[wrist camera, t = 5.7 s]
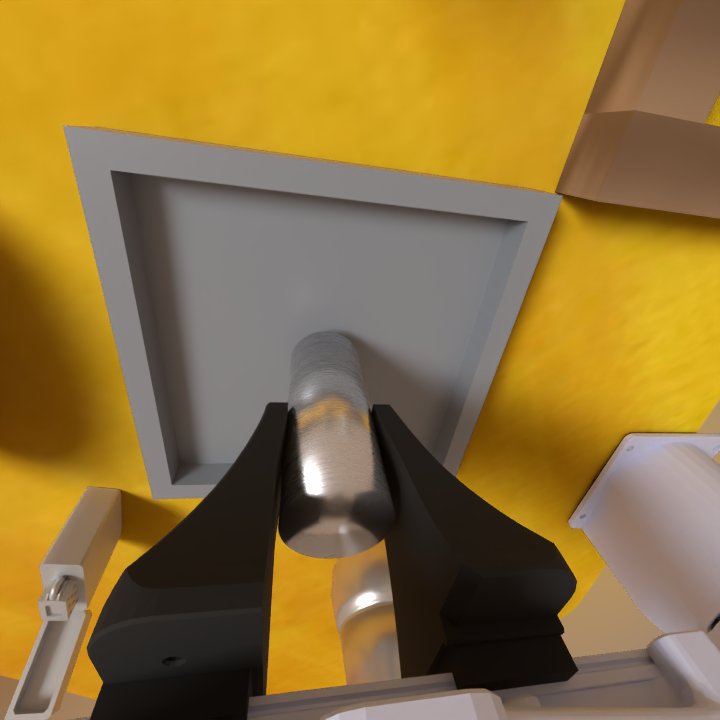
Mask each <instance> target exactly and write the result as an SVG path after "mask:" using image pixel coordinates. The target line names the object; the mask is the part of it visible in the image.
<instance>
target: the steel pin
mask: <svg viewBox="0 0 720 720" xmlns="http://www.w3.org/2000/svg"><path fill="white" fill-rule="evenodd" d="M394 521H395V512H394V507H393V503H392V499H391V495H390V490H389V486H388V482H387V477H386V473H385V469H384V464H383V460H382V456H381V451H380V447H379V443H378V439H377V434H376V430H375V426H374V421H373V417H372V413H371V408H370V404H369V400H368V396H367V391H366V387H365V383H364V378H363V374H362V370H361V365H360V361H359V357H358V353H357V350H356V348H355V346H354V345H353V343H352V342H351V341H350V340H349V339H347V338H346V337H344V336H342V335H340V334H337V333H334V332H317V333H313V334H310V335H308V336H306V337H305V338H303V339H302V340H301V341H299V342H298V344H297V345H296V346H295V348H294V349H293V352H292V354H291V361H290V375H289V388H288V417H287V433H286V440H285V447H284V456H283V469H282V483H281V496H280V510H279V523H278V530H279V534H280V537H281V539H282V540H283V542H284V543H285V544H286V545H287V546H288V547H289V548H291V549H292V550H294V551H296V552H298V553H300V554H303V555H306V556H310V557H315V558H342V557H347V556H352V555H355V554H358V553H361V552H364V551H366V550H368V549H370V548H372V547H374V546H375V545H377V544H378V543H380V542H381V541H382V540H383V539H384V538H385V537H386V536H387V535H388V534H389V532H390V531H391V529H392V527H393V525H394Z"/></svg>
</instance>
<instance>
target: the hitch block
mask: <svg viewBox="0 0 720 720" xmlns="http://www.w3.org/2000/svg"><path fill="white" fill-rule="evenodd" d="M719 94H720V0H626V2H625V4H624V7H623V10H622V13H621V15H620V18H619V21H618V23H617V26H616V29H615V31H614V34H613V37H612V40H611V42H610V45H609V48H608V50H607V53H606V56H605V58H604V61H603V64H602V67H601V69H600V72H599V75H598V77H597V80H596V83H595V86H594V88H593V91H592V94H591V96H590V99H589V102H588V104H587V107H586V110H585V113H584V115H583V118H582V121H581V123H580V126H579V129H578V131H577V134H576V137H575V140H574V142H573V145H572V148H571V150H570V153H569V156H568V158H567V161H566V164H565V167H564V169H563V172H562V175H561V177H560V180H559V183H558V186H557V188H556V191H555V192H558V193H562V194H566V195H571V196H575V197H580V198H584V199H588V200H593V201H598V202H605V203H612V204H619V205H626V206H634V207H641V208H648V209H655V210H662V211H669V212H677V213H684V214H691V215H698V216H705V217H712V218H719V219H720V127H719V126H713V125H708V124H704V123H705V121H706V119H707V117H708V115H709V113H710V111H711V110H712V108H713V106H714V104H715V102H716V100H717V98H718V96H719Z"/></svg>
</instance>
